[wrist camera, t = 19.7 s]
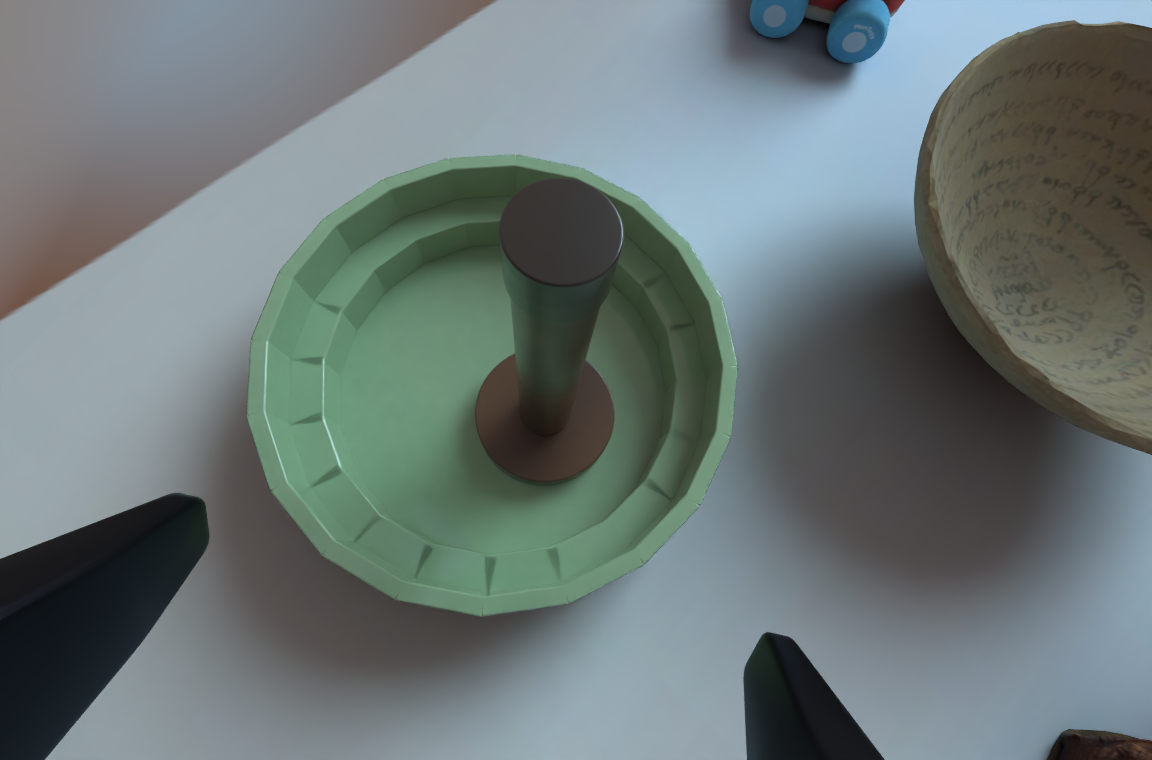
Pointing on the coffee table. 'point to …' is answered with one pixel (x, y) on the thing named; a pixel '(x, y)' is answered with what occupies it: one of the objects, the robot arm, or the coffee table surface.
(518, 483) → the green round dish
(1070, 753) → the pastry
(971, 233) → the bowl
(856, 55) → the toy car
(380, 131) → the coffee table surface
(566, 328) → the paper towel holder
